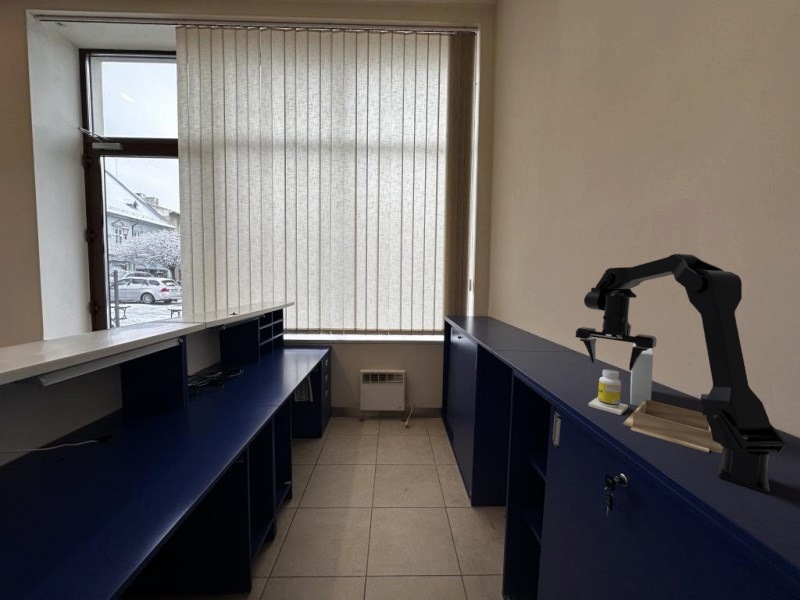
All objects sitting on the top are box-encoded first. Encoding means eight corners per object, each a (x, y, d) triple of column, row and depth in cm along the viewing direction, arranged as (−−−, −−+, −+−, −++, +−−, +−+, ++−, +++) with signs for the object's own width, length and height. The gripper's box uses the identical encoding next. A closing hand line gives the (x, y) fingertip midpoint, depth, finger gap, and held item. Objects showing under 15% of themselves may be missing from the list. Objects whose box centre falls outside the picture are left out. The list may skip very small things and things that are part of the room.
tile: (620, 415, 90) (620, 412, 89) (588, 405, 95) (588, 403, 95) (627, 407, 95) (628, 405, 95) (596, 399, 101) (597, 397, 101)
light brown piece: (721, 457, 69) (723, 438, 69) (620, 426, 82) (622, 411, 82) (724, 432, 81) (726, 416, 81) (636, 409, 94) (638, 395, 94)
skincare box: (629, 387, 116) (633, 342, 115) (648, 390, 112) (653, 344, 111) (628, 404, 98) (632, 351, 97) (650, 409, 95) (655, 354, 94)
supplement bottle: (597, 399, 99) (599, 367, 98) (618, 403, 96) (621, 370, 95) (597, 405, 94) (600, 371, 93) (620, 409, 91) (623, 374, 91)
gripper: (662, 314, 92) (657, 369, 93) (589, 308, 106) (585, 356, 107) (655, 317, 85) (649, 376, 86) (577, 309, 98) (572, 361, 99)
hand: (611, 366), depth 94 cm, fingers open, 9 cm apart
